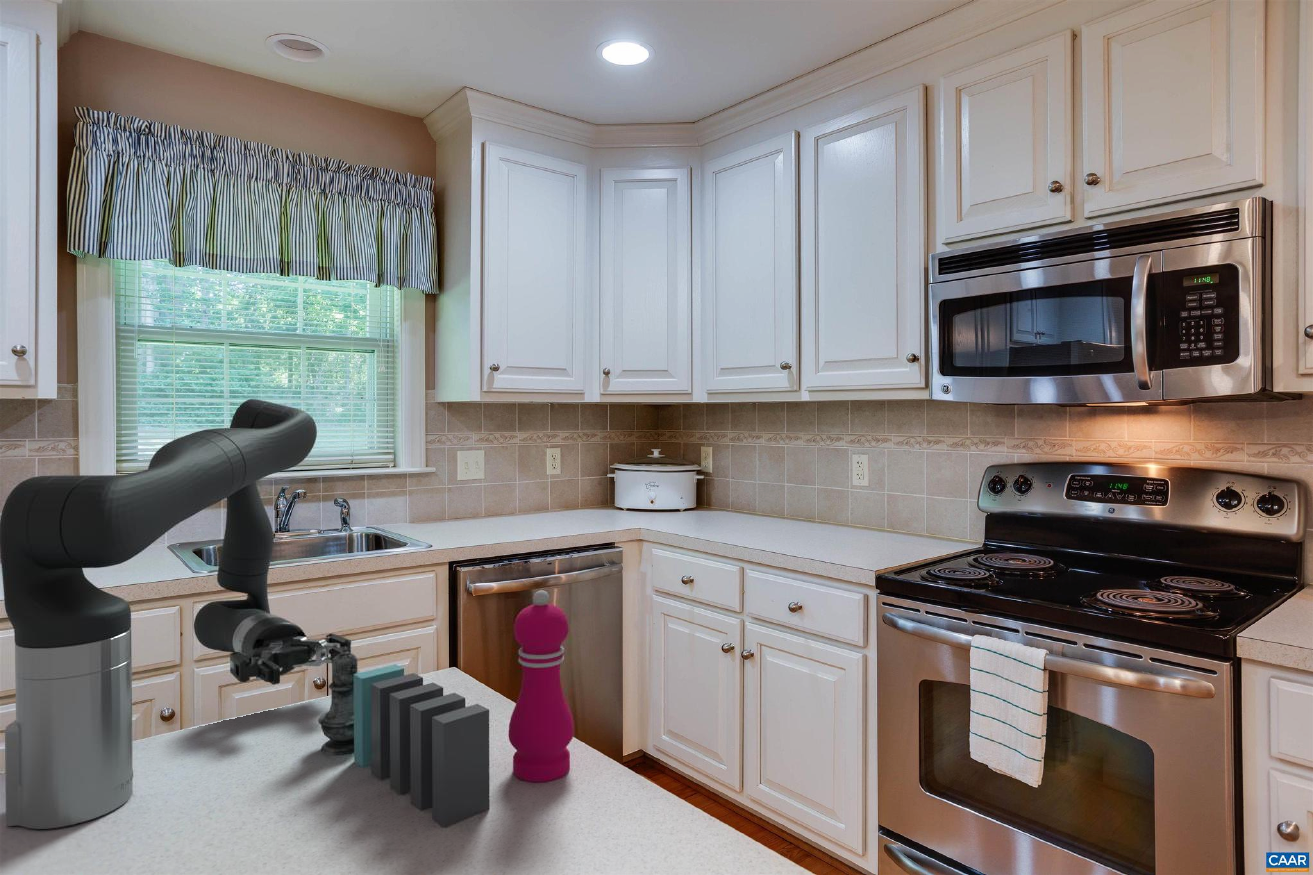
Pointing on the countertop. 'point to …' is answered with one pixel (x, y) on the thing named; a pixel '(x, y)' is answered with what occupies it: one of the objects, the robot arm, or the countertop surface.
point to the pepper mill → (541, 695)
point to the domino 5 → (460, 764)
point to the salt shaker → (340, 706)
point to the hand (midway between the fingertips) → (312, 668)
